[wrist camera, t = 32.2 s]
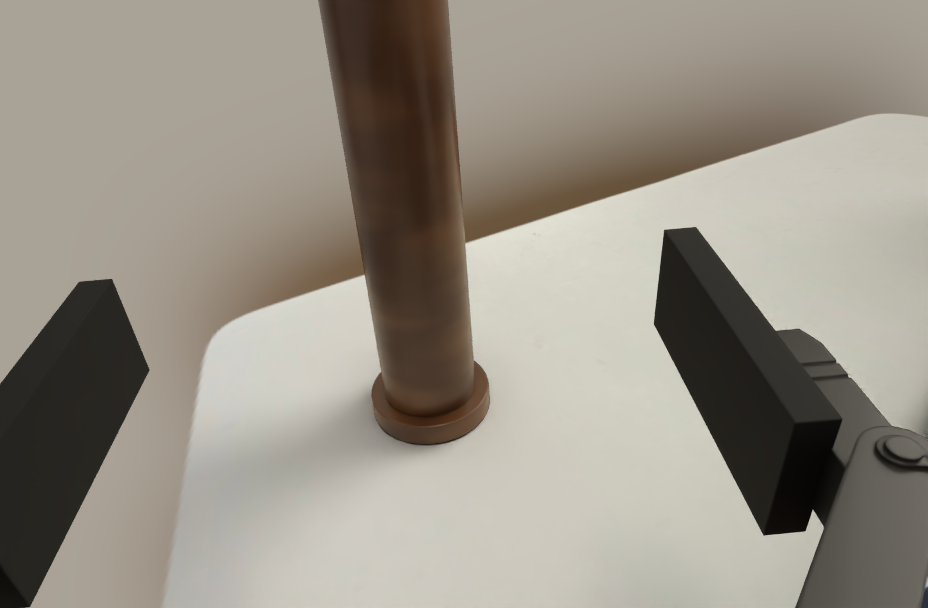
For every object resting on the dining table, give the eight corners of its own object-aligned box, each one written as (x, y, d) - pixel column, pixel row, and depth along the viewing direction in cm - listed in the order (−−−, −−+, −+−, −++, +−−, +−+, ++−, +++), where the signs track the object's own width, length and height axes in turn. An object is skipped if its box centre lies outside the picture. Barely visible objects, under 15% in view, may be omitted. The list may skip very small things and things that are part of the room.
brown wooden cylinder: (368, 448, 28) (275, -23, 19) (378, 369, 33) (307, -47, 23) (493, 441, 28) (466, -37, 18) (486, 363, 33) (462, -58, 23)
